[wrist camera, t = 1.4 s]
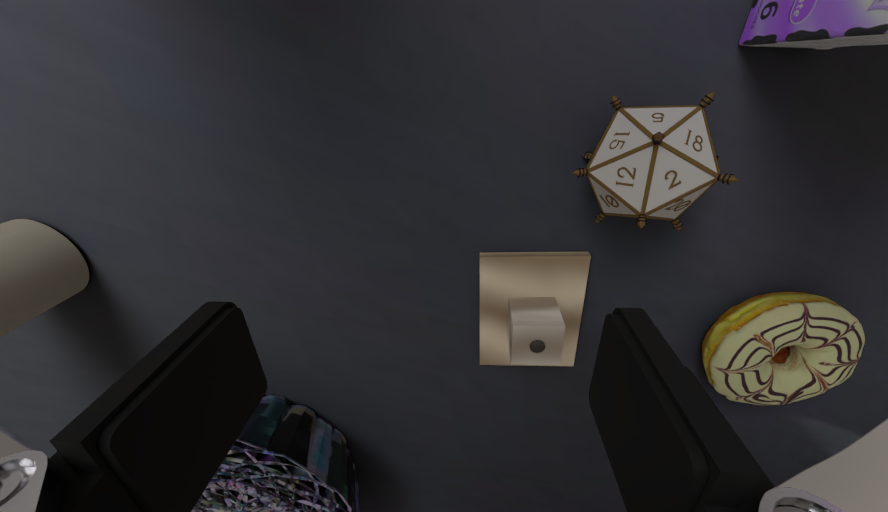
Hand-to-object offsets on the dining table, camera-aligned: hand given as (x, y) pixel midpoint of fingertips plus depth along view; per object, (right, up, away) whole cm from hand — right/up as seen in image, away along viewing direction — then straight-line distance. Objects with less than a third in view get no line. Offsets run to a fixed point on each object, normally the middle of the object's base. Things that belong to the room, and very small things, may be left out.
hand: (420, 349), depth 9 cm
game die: (+14, +10, +17) cm, 24 cm away
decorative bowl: (-21, -22, +36) cm, 47 cm away
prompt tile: (+8, -3, +24) cm, 25 cm away
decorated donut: (+29, -5, +24) cm, 38 cm away
